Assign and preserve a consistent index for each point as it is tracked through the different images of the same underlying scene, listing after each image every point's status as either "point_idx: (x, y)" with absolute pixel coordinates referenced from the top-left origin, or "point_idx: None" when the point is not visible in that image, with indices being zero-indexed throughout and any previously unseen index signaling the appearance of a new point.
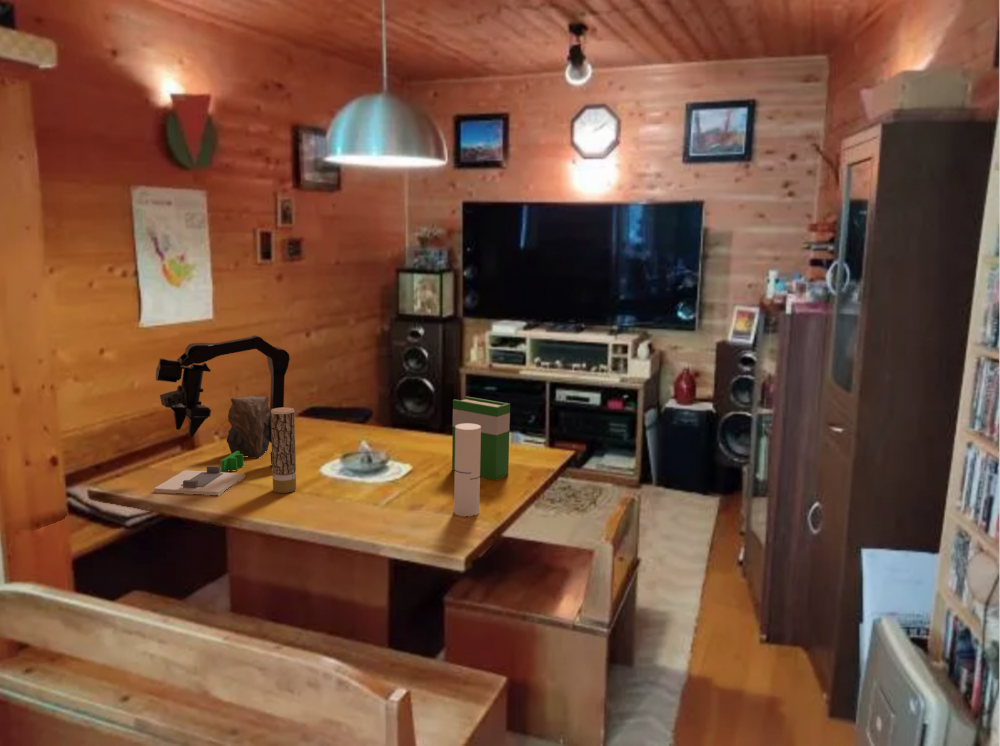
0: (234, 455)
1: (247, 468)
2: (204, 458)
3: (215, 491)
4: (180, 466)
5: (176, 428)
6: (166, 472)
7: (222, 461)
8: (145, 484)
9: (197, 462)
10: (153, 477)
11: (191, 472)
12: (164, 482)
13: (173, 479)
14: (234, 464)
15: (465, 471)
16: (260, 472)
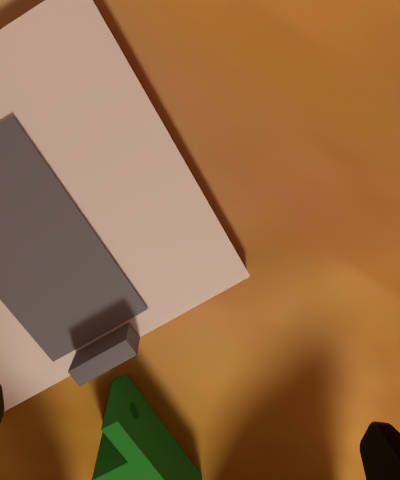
0: None
1: None
2: None
3: None
4: (360, 312)
5: (384, 429)
6: (337, 225)
7: (110, 421)
8: (252, 40)
9: (346, 385)
10: (321, 138)
11: (191, 277)
12: (140, 89)
13: (153, 154)
14: (105, 448)
15: None
16: (13, 475)
